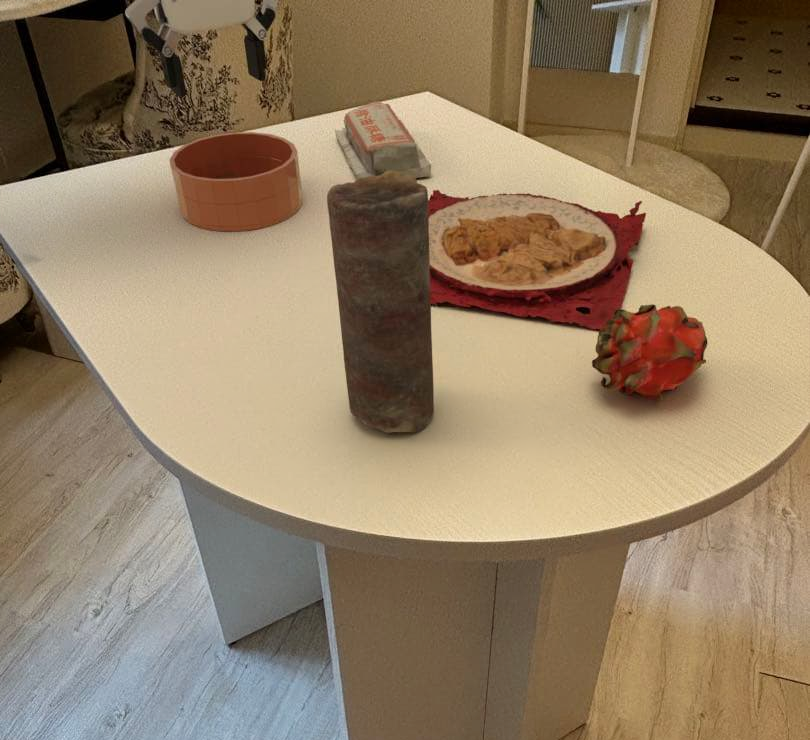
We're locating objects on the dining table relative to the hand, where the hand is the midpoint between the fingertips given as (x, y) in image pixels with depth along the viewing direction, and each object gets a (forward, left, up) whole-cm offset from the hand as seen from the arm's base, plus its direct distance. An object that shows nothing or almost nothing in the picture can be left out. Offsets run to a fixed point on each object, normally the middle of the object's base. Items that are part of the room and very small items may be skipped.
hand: (218, 85), depth 91 cm
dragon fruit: (+58, -6, -14) cm, 60 cm away
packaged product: (+5, +22, -14) cm, 27 cm away
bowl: (0, 0, -14) cm, 14 cm away
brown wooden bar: (+1, 0, -13) cm, 13 cm away
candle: (+42, -23, -14) cm, 50 cm away
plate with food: (+36, +7, -14) cm, 40 cm away
